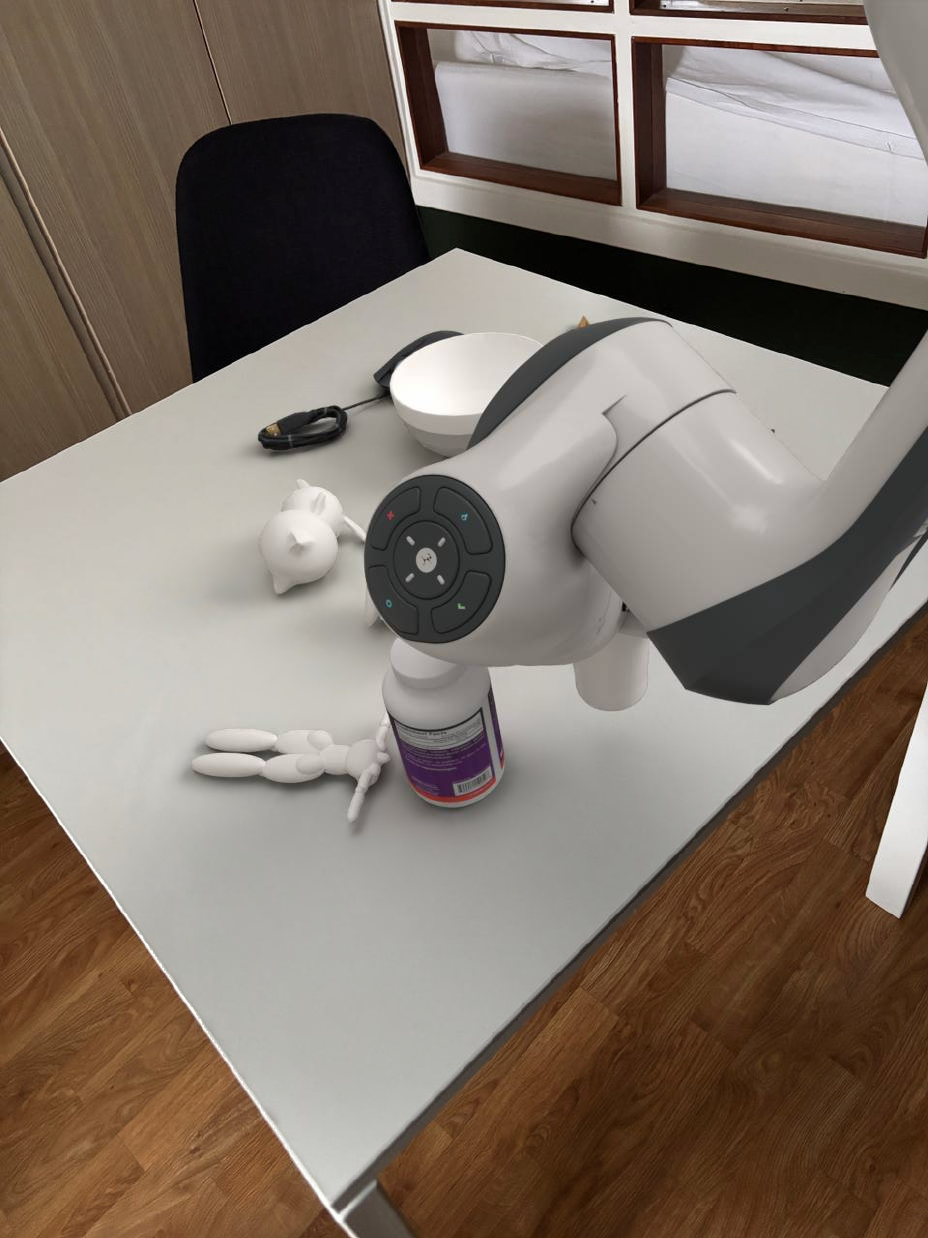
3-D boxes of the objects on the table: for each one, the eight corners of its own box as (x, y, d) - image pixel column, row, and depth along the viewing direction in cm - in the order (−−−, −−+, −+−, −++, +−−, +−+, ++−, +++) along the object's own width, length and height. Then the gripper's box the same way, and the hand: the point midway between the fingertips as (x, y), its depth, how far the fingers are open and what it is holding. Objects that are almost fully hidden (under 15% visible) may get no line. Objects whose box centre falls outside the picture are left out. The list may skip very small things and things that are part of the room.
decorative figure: (161, 802, 76) (361, 811, 69) (221, 691, 84) (405, 690, 78) (180, 826, 78) (376, 837, 72) (237, 716, 86) (417, 717, 80)
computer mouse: (494, 366, 124) (489, 327, 120) (284, 470, 112) (271, 431, 108) (453, 344, 130) (447, 307, 126) (250, 442, 118) (236, 404, 115)
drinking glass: (648, 729, 67) (645, 571, 57) (557, 715, 69) (538, 560, 59) (665, 662, 71) (665, 504, 61) (578, 650, 73) (564, 497, 63)
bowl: (387, 484, 107) (371, 418, 101) (421, 398, 120) (409, 335, 114) (550, 482, 103) (543, 413, 97) (566, 393, 116) (562, 327, 110)
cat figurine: (296, 454, 96) (262, 522, 88) (390, 497, 98) (365, 568, 90) (273, 513, 102) (238, 583, 93) (362, 553, 104) (336, 625, 95)
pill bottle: (436, 723, 80) (405, 599, 70) (522, 748, 76) (502, 622, 66) (391, 797, 75) (350, 675, 65) (480, 827, 71) (452, 703, 62)
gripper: (747, 561, 48) (771, 581, 61) (401, 507, 56) (486, 535, 69) (724, 680, 48) (752, 676, 61) (382, 610, 56) (470, 619, 69)
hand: (609, 601), depth 65 cm, fingers closed on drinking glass, 6 cm apart
